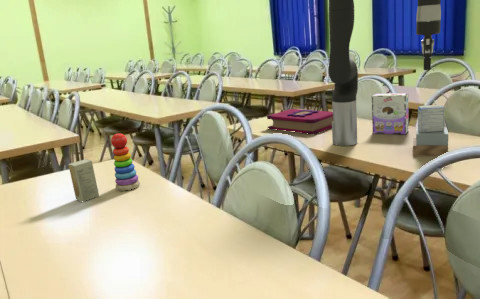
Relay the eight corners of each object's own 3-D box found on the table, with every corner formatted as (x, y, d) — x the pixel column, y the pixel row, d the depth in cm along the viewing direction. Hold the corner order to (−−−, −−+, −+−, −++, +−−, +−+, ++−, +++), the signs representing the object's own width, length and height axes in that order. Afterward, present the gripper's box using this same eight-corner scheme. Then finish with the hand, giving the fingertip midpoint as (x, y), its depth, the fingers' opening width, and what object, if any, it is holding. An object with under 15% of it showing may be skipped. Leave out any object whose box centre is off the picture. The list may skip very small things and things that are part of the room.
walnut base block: (413, 156, 156) (413, 145, 155) (413, 148, 165) (413, 137, 164) (447, 157, 152) (448, 146, 151) (445, 148, 161) (446, 137, 160)
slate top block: (416, 145, 155) (416, 134, 154) (416, 138, 164) (416, 127, 163) (448, 145, 151) (448, 134, 150) (446, 138, 160) (446, 127, 159)
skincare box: (93, 193, 147) (86, 158, 144) (99, 196, 144) (93, 160, 141) (74, 200, 142) (67, 163, 139) (80, 203, 139) (73, 165, 136)
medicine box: (441, 128, 158) (441, 104, 155) (444, 131, 153) (445, 106, 151) (417, 129, 159) (417, 105, 157) (420, 133, 155) (420, 108, 152)
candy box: (408, 131, 188) (409, 92, 183) (405, 135, 183) (405, 95, 179) (375, 130, 195) (375, 92, 191) (371, 133, 190) (371, 95, 186)
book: (293, 121, 231) (292, 106, 229) (340, 125, 211) (339, 110, 209) (266, 130, 217) (265, 114, 215) (313, 135, 197) (313, 119, 195)
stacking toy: (129, 182, 155) (120, 129, 150) (145, 185, 151) (136, 131, 146) (111, 189, 149) (101, 135, 144) (127, 193, 145) (117, 137, 140)
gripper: (416, 20, 157) (415, 66, 161) (415, 21, 145) (414, 71, 149) (440, 18, 154) (438, 65, 159) (441, 19, 142) (439, 70, 146)
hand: (427, 68), depth 154 cm, fingers open, 8 cm apart
